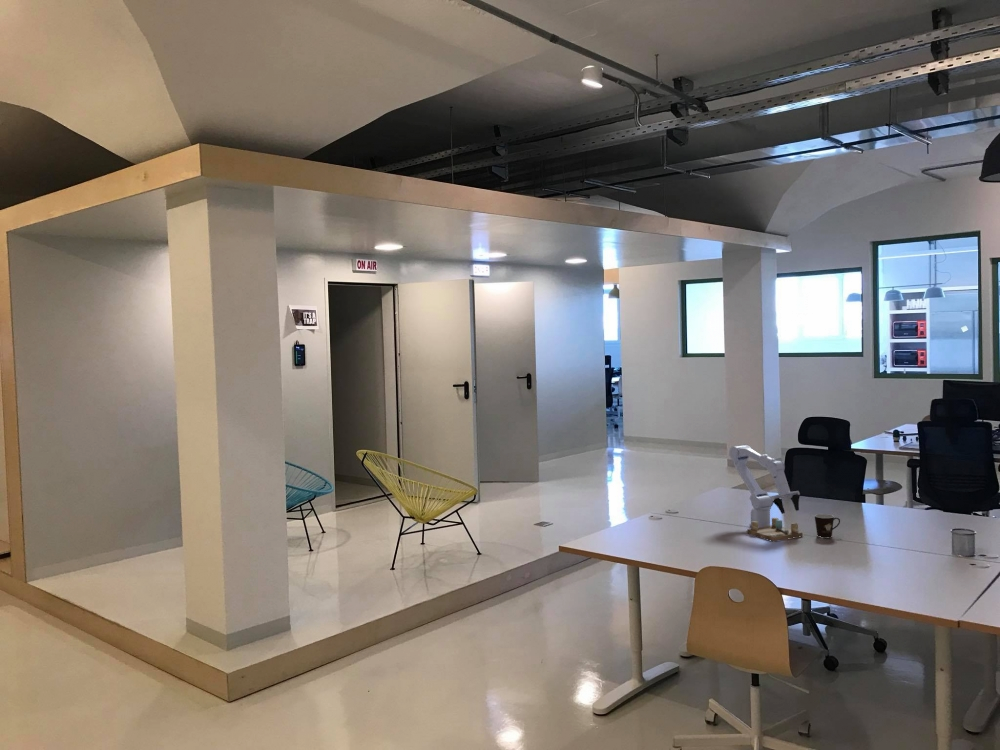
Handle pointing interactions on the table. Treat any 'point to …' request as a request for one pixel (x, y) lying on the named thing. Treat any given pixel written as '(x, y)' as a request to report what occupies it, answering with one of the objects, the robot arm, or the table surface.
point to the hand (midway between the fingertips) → (790, 511)
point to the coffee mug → (825, 524)
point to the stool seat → (774, 531)
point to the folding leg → (780, 526)
